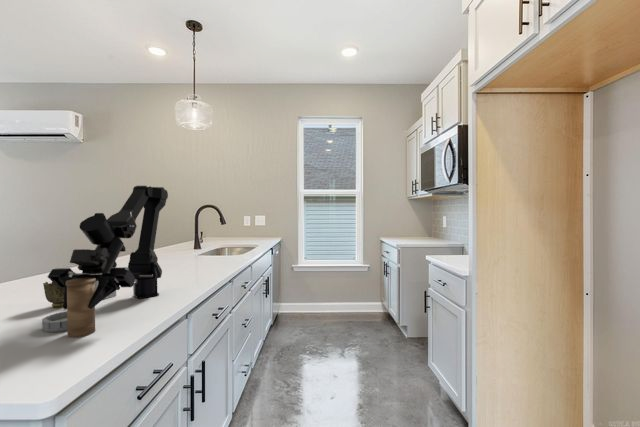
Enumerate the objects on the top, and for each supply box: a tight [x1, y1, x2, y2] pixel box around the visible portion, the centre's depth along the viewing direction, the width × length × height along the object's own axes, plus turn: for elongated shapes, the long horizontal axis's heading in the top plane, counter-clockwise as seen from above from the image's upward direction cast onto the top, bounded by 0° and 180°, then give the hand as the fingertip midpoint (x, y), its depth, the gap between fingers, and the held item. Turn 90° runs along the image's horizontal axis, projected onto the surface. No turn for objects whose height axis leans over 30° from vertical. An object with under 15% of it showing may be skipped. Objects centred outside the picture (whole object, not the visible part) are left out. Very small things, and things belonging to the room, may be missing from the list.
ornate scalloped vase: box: [43, 281, 65, 309], centre depth 96 cm, size 8×7×8 cm
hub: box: [41, 310, 68, 333], centre depth 81 cm, size 9×9×2 cm
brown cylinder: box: [66, 277, 96, 339], centre depth 76 cm, size 6×6×13 cm
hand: (77, 308), depth 75 cm, fingers closed on brown cylinder, 5 cm apart
